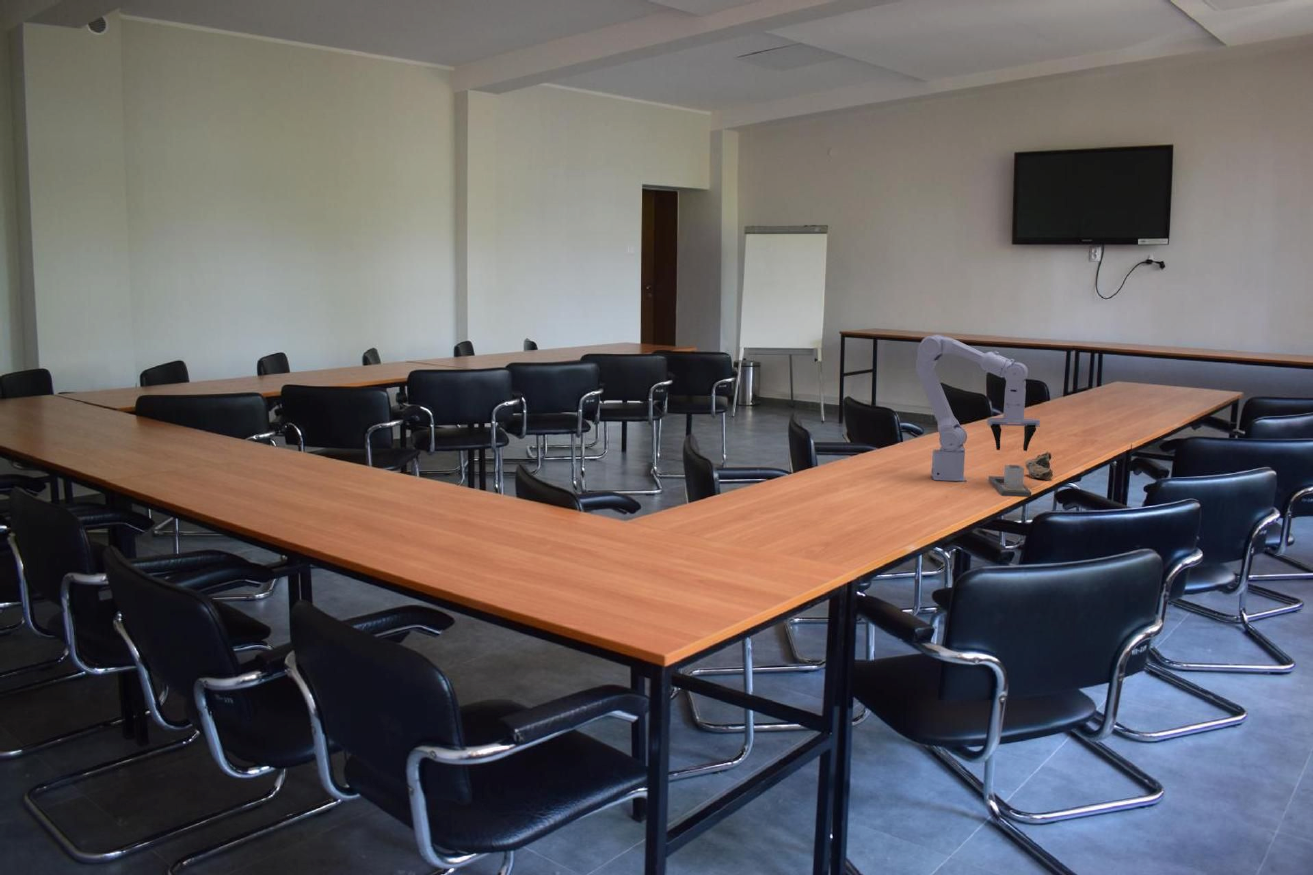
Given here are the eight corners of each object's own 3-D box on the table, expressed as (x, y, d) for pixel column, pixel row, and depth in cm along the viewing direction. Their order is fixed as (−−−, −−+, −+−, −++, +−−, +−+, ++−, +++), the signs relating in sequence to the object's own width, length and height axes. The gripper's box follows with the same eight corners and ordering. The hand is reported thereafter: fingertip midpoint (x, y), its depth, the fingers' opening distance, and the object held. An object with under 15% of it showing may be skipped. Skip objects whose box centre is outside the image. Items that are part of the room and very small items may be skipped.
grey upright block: (1006, 488, 295) (1007, 466, 294) (1003, 485, 299) (1005, 464, 298) (1022, 489, 294) (1024, 467, 293) (1019, 486, 298) (1020, 464, 297)
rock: (1067, 474, 315) (1050, 450, 321) (1057, 467, 310) (1040, 443, 316) (1043, 492, 319) (1027, 467, 325) (1033, 485, 314) (1016, 461, 320)
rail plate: (1001, 495, 292) (1001, 491, 292) (988, 480, 314) (988, 475, 313) (1031, 496, 291) (1031, 492, 291) (1016, 480, 312) (1016, 476, 312)
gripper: (991, 405, 300) (988, 451, 302) (1043, 406, 298) (1040, 453, 300) (987, 402, 307) (984, 447, 309) (1038, 403, 305) (1035, 449, 307)
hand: (1011, 450), depth 305 cm, fingers open, 7 cm apart
